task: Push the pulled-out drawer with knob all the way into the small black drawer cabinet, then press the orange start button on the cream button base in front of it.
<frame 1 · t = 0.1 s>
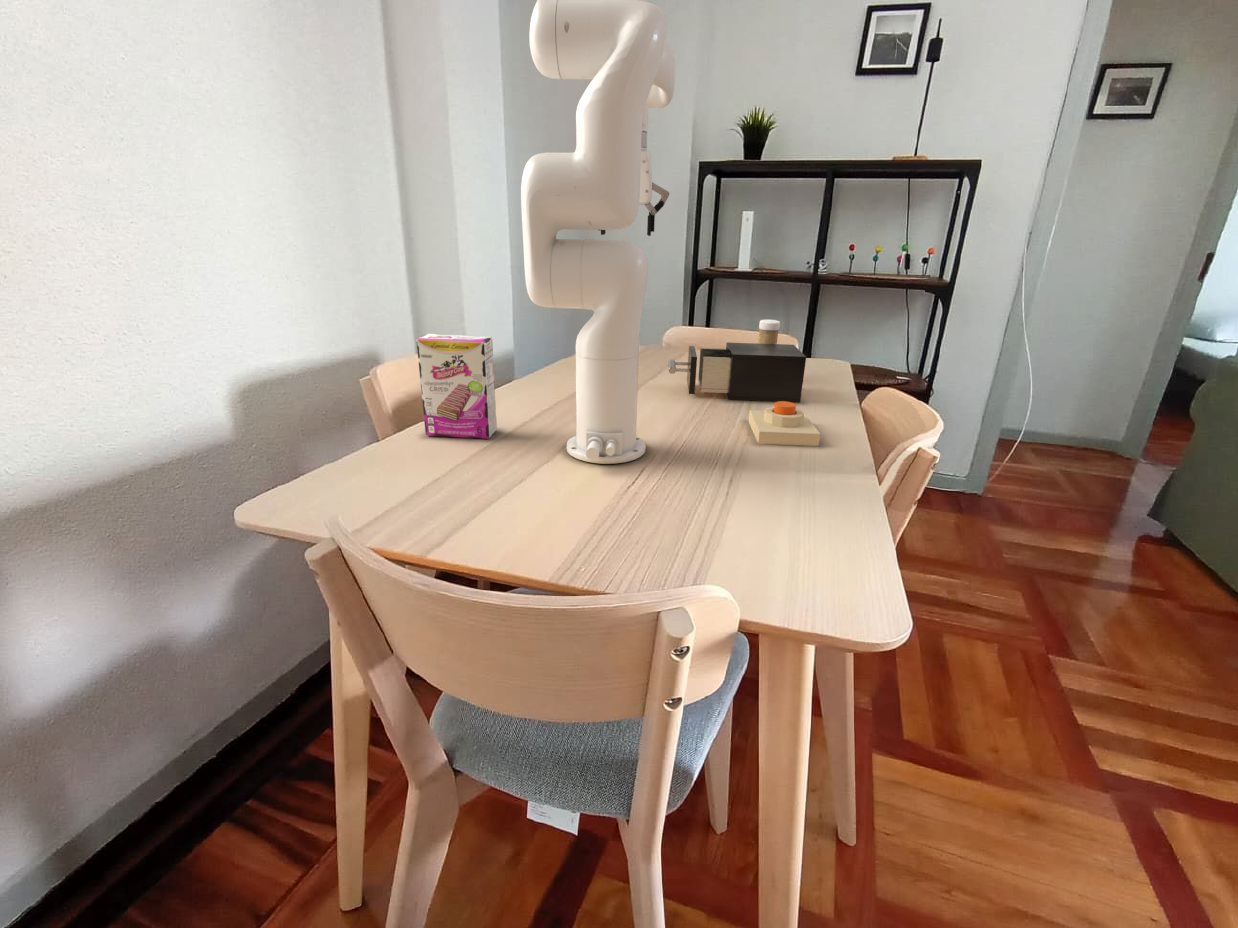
hand: (626, 235, 127), 31 cm above the table, tool pointing down, fingers open, 9 cm apart
black drawer cabinet: (759, 393, 131), on the table
start button: (784, 408, 105), point 4 cm above the table, slide at 0.1 cm
cream button base: (781, 433, 107), on the table
drawer with knob: (710, 370, 130), point 5 cm above the table, slide at 7.0 cm
candy bar box: (462, 434, 104), on the table
sprinkles bottle: (763, 379, 144), on the table
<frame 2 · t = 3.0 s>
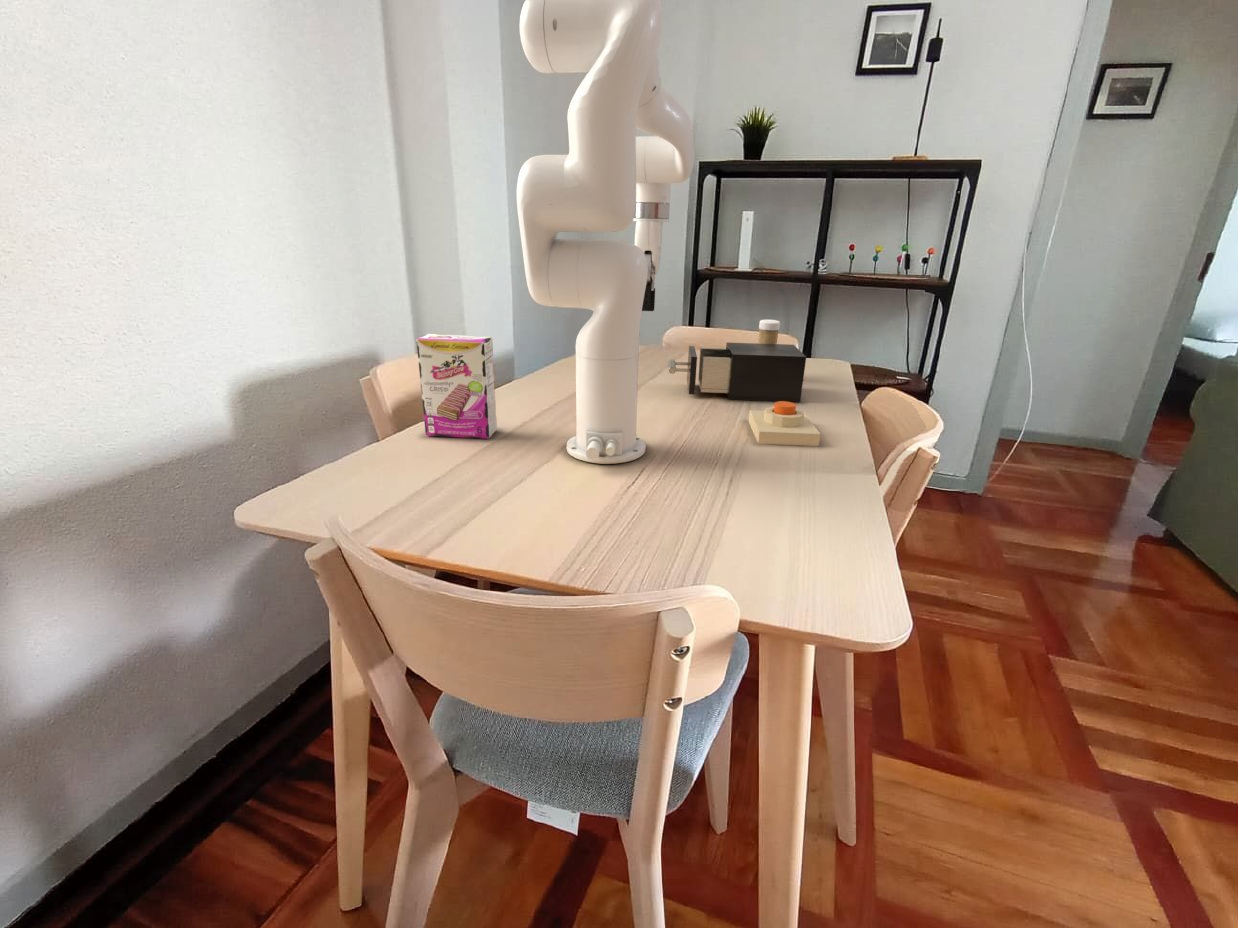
hand: (646, 308, 126), 17 cm above the table, tool pointing down, fingers open, 3 cm apart
nothing on the table moved.
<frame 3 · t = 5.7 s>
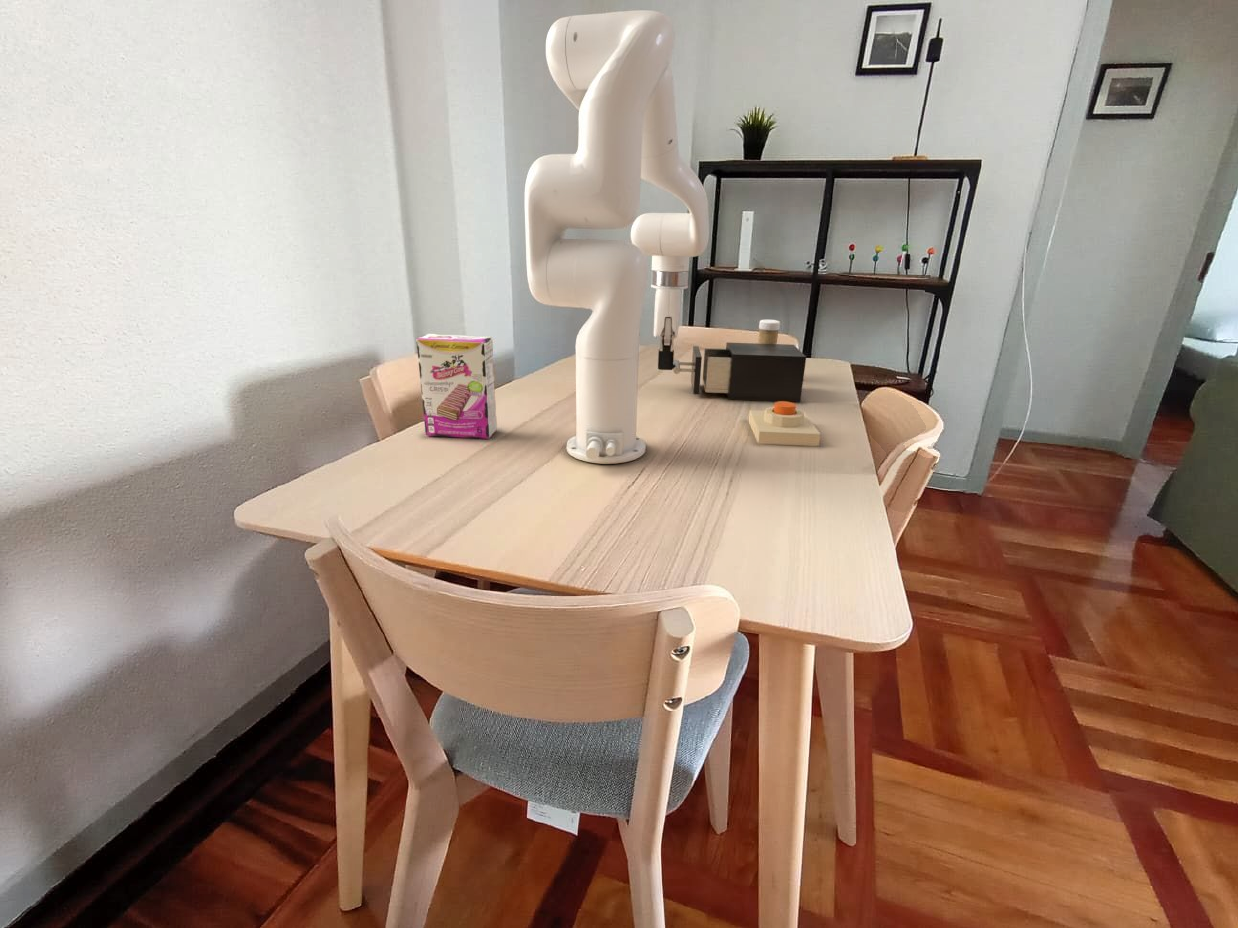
hand: (665, 368, 131), 5 cm above the table, tool pointing down, fingers closed
drawer with knob: (714, 370, 130), point 5 cm above the table, slide at 6.1 cm, touching gripper
everything else where it was.
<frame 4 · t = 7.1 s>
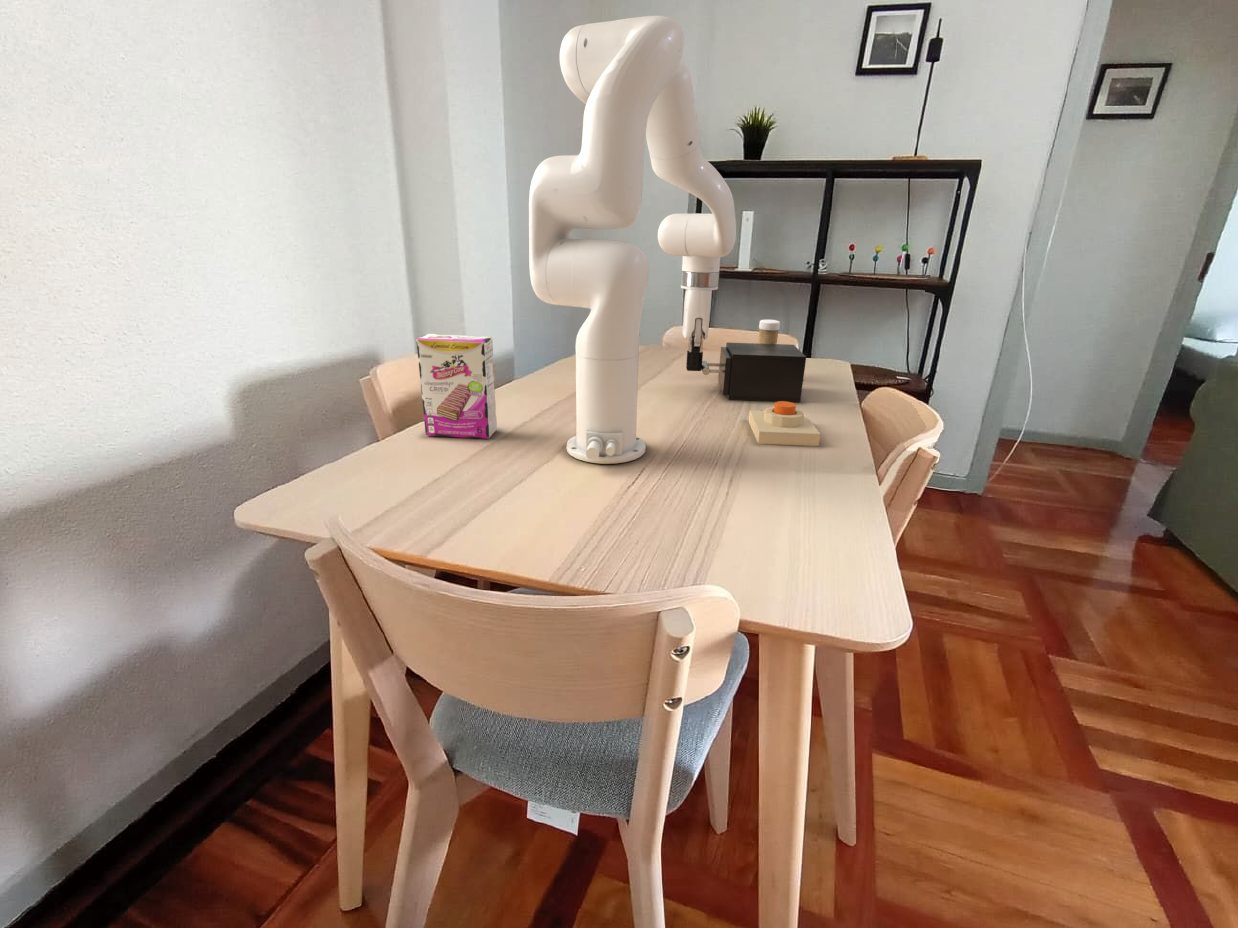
hand: (693, 369, 130), 5 cm above the table, tool pointing down, fingers closed
drawer with knob: (743, 371, 130), point 5 cm above the table, slide at 0.0 cm, touching gripper, black drawer cabinet
everything else where it was.
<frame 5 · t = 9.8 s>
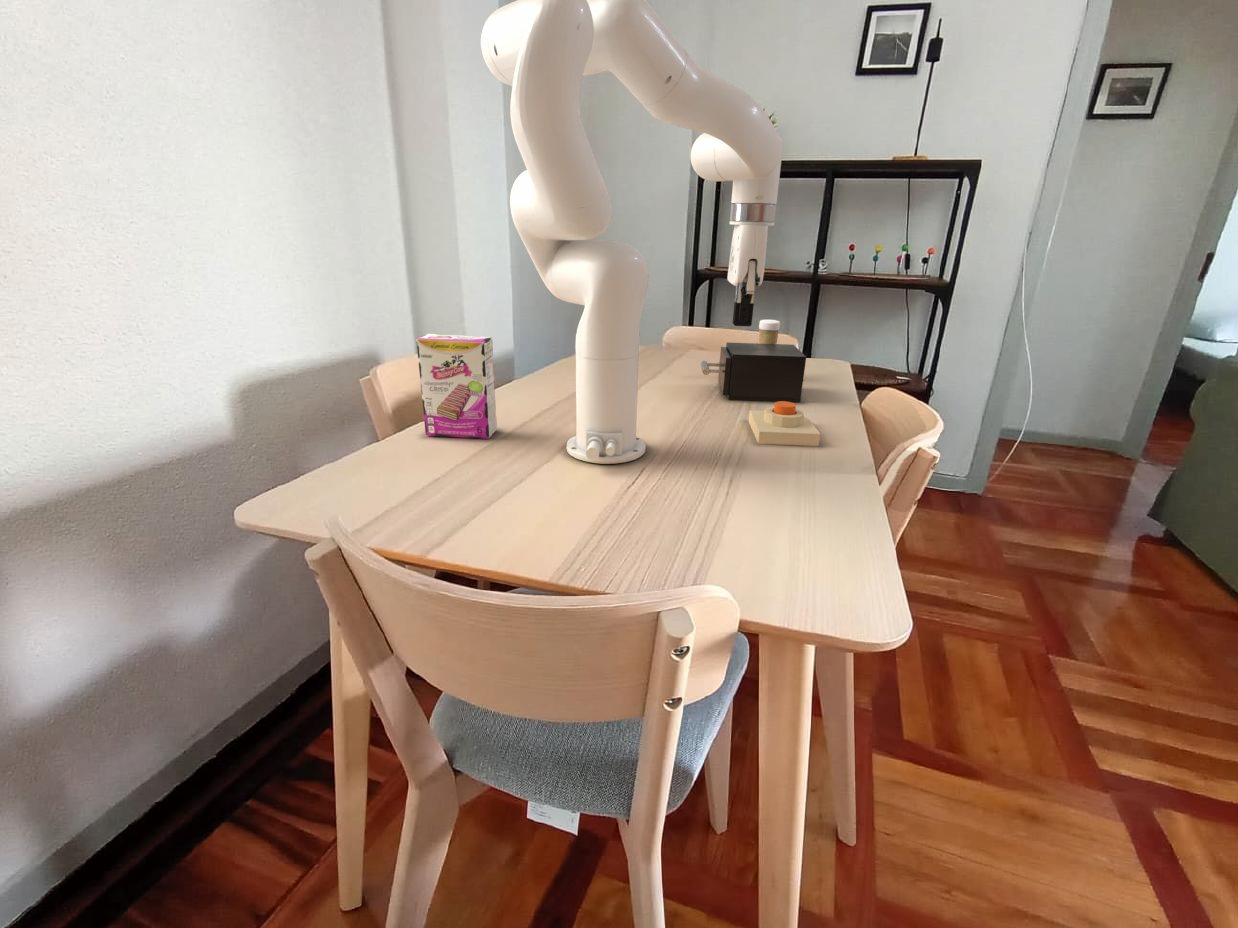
hand: (741, 325, 110), 17 cm above the table, tool pointing down, fingers closed
drawer with knob: (743, 371, 130), point 5 cm above the table, slide at 0.0 cm, touching black drawer cabinet
everything else where it was.
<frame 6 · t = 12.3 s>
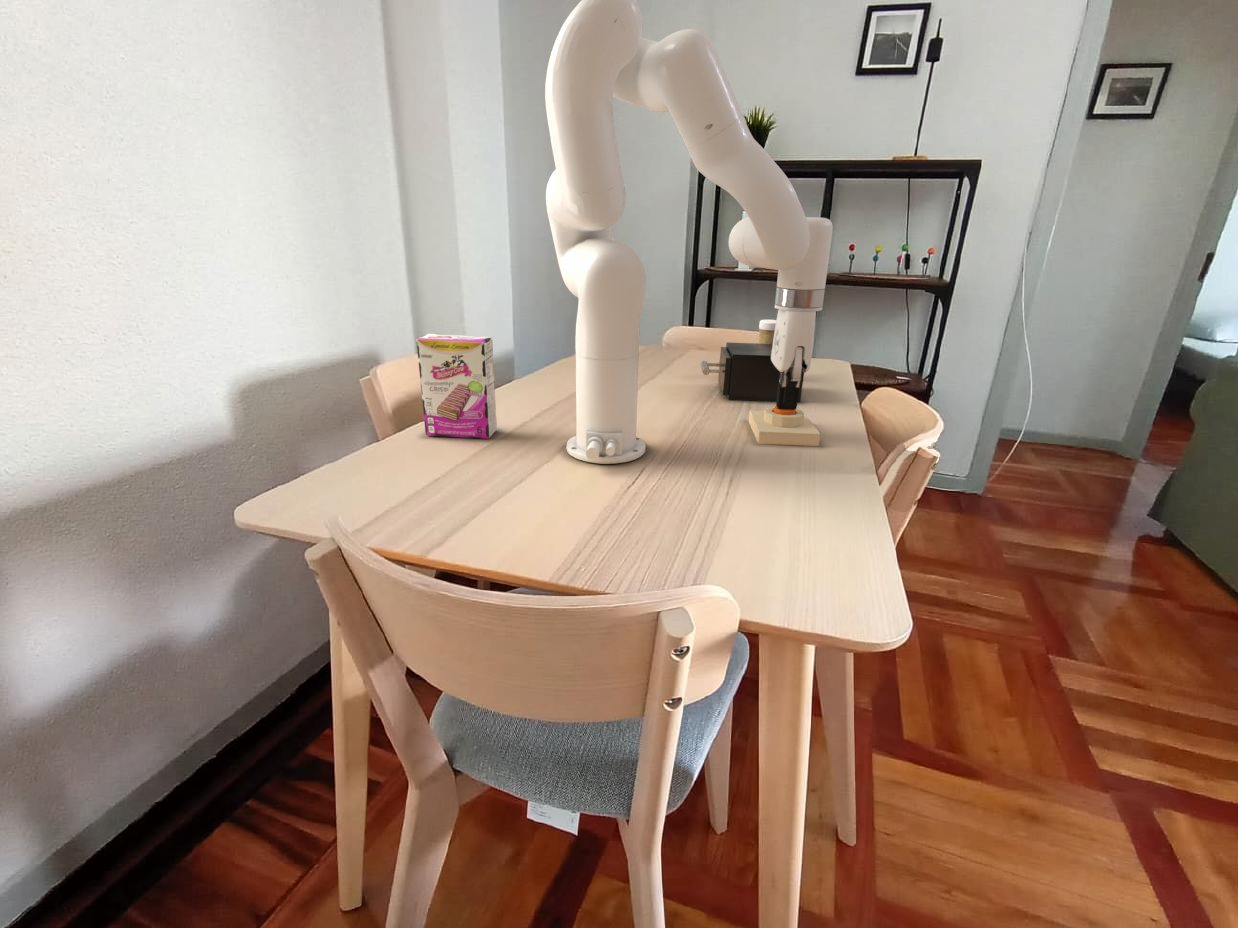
hand: (786, 408, 105), 5 cm above the table, tool pointing down, fingers closed
start button: (784, 413, 106), point 4 cm above the table, slide at -0.7 cm, touching gripper
everything else where it was.
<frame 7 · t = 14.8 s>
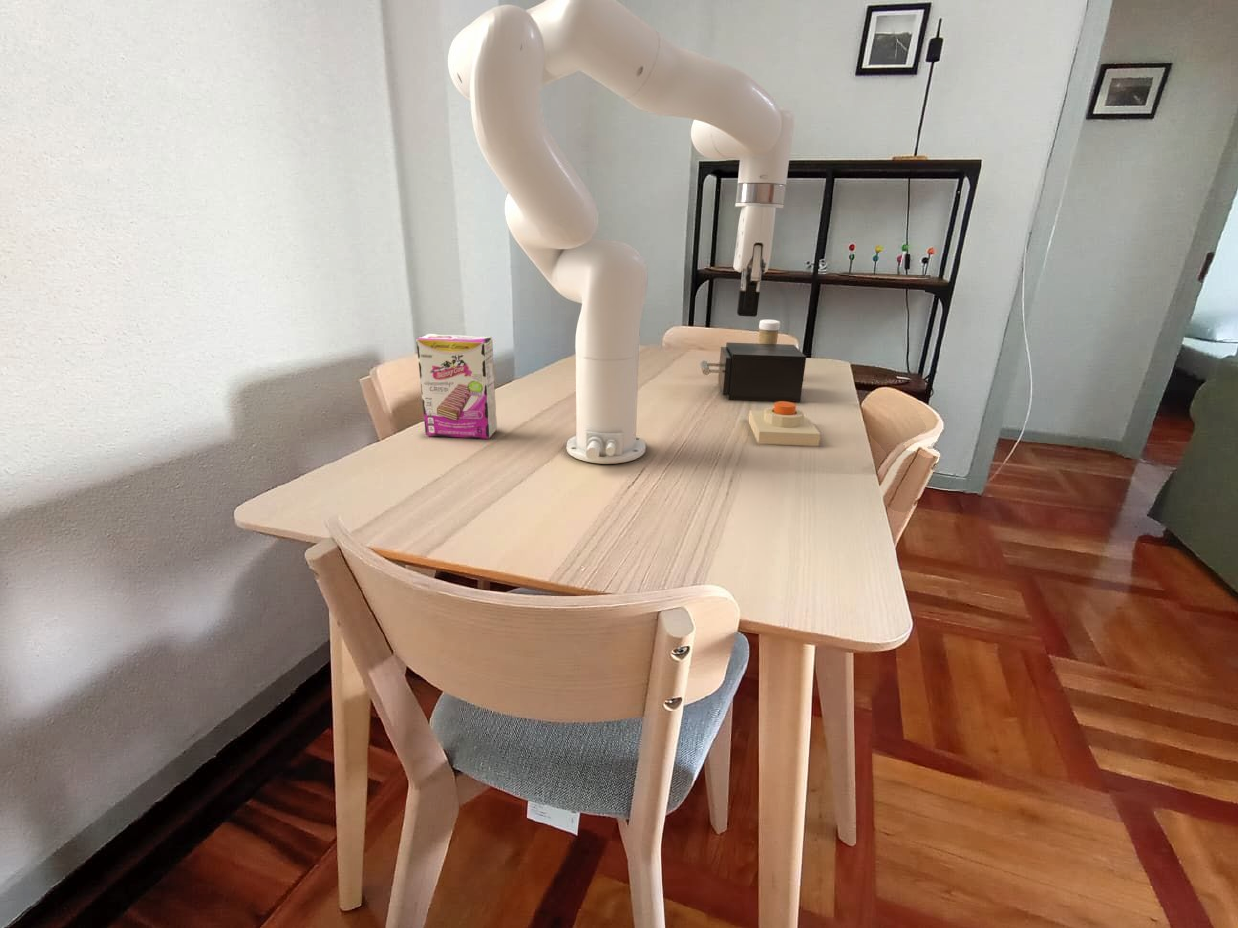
hand: (746, 315, 103), 20 cm above the table, tool pointing down, fingers closed
start button: (784, 408, 105), point 4 cm above the table, slide at 0.1 cm
everything else where it was.
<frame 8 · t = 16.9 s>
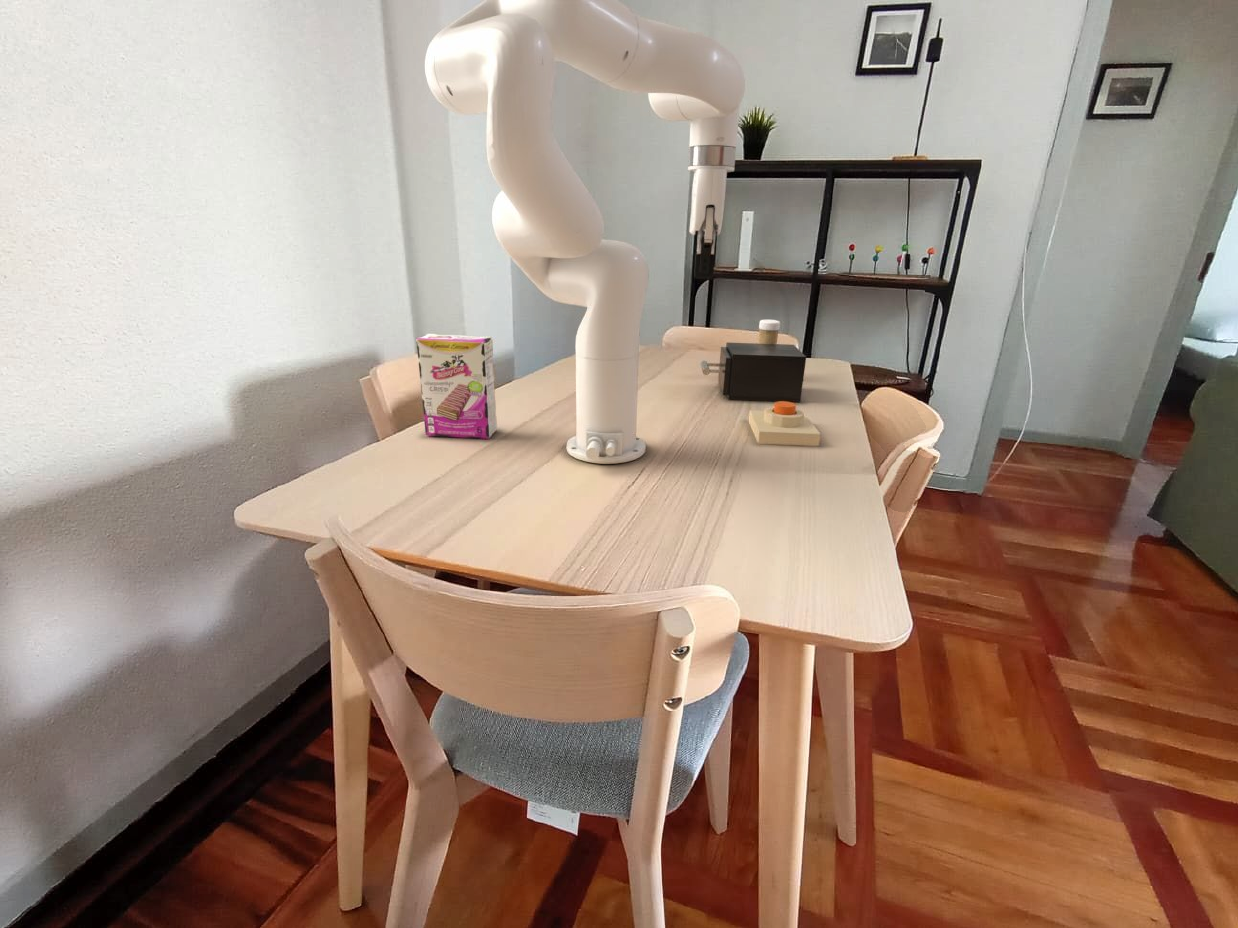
hand: (703, 278, 106), 25 cm above the table, tool pointing down, fingers closed
nothing on the table moved.
at the end: drawer with knob slide at 0.0 cm; start button pushed in 1.1 cm at the most during the clip, back to where it started at the end; start button slide at 0.1 cm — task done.
